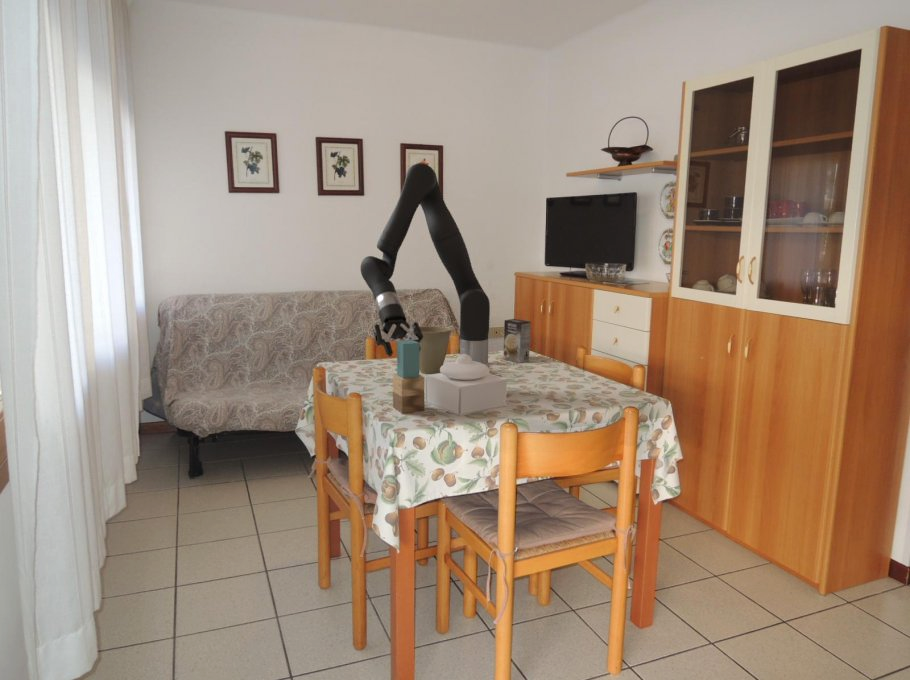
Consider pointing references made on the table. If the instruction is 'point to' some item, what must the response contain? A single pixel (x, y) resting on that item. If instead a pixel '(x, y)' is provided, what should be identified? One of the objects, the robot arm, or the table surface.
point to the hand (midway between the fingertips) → (404, 353)
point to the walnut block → (408, 403)
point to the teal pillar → (408, 359)
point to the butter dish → (465, 387)
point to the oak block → (408, 385)
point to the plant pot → (433, 348)
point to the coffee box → (516, 340)
